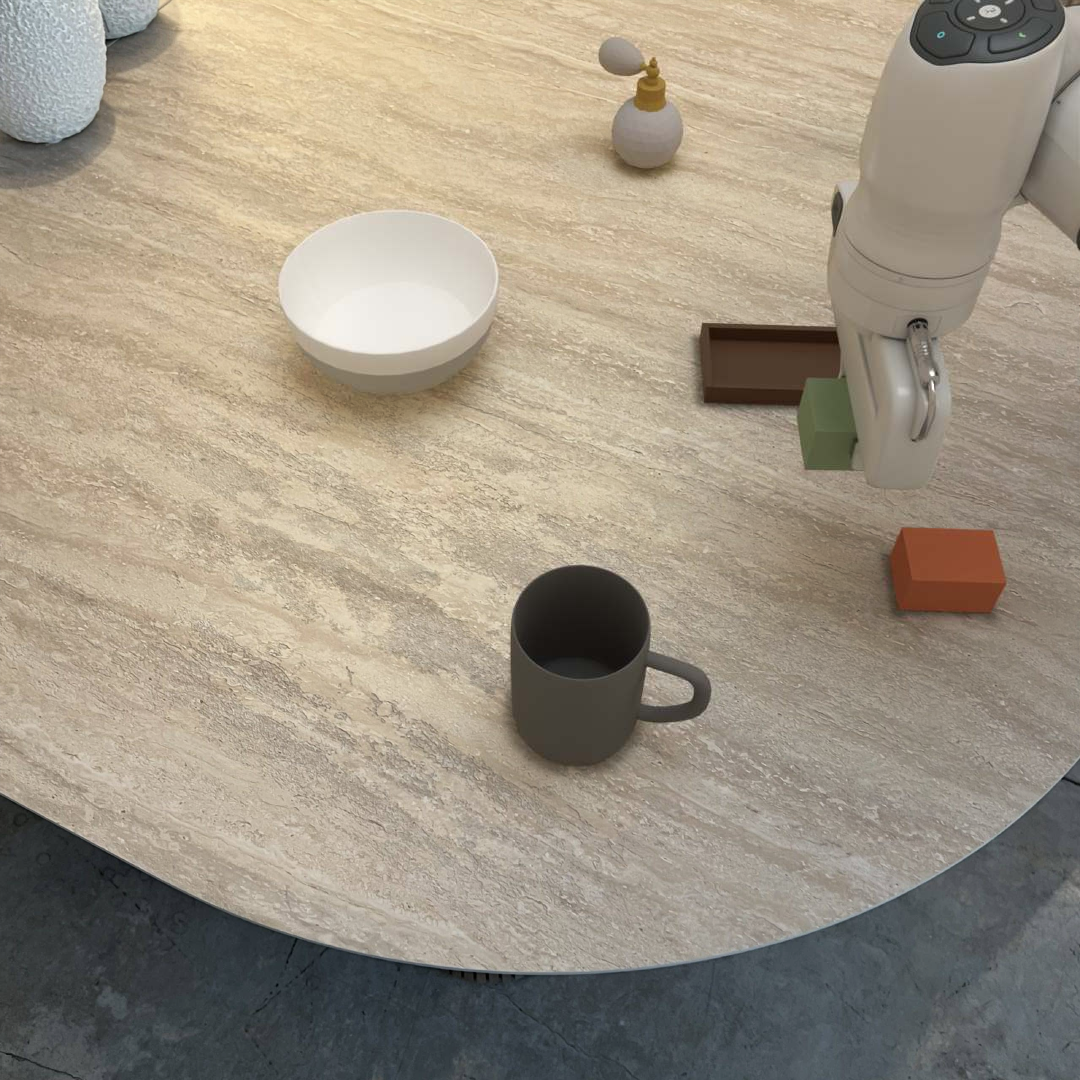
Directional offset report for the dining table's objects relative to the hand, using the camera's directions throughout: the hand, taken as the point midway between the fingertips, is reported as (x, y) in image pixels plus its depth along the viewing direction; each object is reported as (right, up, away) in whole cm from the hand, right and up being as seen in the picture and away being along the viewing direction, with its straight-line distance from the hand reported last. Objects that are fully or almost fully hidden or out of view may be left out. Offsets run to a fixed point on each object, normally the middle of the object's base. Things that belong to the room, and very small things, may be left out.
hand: (855, 427), depth 79 cm
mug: (-17, -21, +3) cm, 27 cm away
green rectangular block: (0, -1, +1) cm, 2 cm away
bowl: (-35, +9, +26) cm, 44 cm away
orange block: (+9, -11, +10) cm, 18 cm away
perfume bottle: (-12, +33, +44) cm, 56 cm away
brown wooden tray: (+1, +7, +24) cm, 25 cm away
